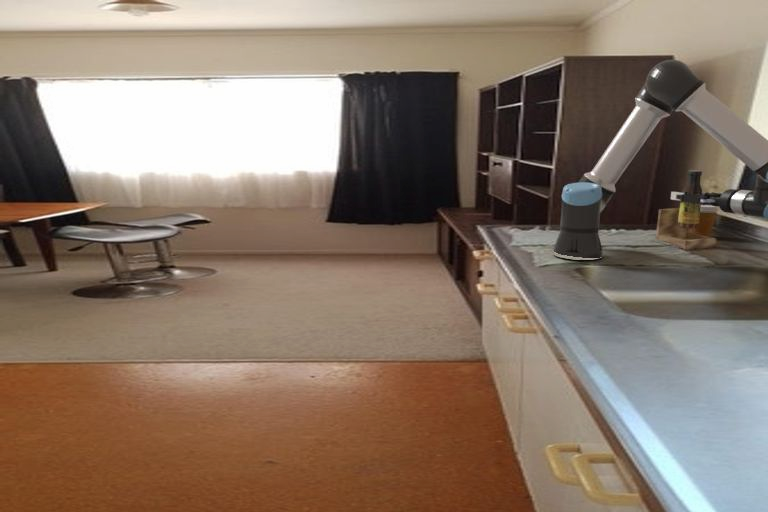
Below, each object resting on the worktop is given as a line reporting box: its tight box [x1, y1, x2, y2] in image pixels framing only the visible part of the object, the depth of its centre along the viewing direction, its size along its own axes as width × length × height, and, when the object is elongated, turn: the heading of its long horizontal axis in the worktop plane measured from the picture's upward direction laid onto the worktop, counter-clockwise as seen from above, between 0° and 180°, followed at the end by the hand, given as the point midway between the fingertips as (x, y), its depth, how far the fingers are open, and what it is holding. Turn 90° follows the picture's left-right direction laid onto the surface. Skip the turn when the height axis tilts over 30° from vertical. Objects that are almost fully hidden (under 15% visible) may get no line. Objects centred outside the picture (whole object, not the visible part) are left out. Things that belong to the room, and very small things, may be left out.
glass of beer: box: [689, 204, 719, 237], centre depth 186 cm, size 10×10×12 cm
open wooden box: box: [655, 207, 717, 250], centre depth 174 cm, size 13×13×12 cm
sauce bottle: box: [678, 170, 703, 229], centre depth 171 cm, size 7×6×20 cm
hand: (679, 195), depth 176 cm, fingers closed on sauce bottle, 6 cm apart
